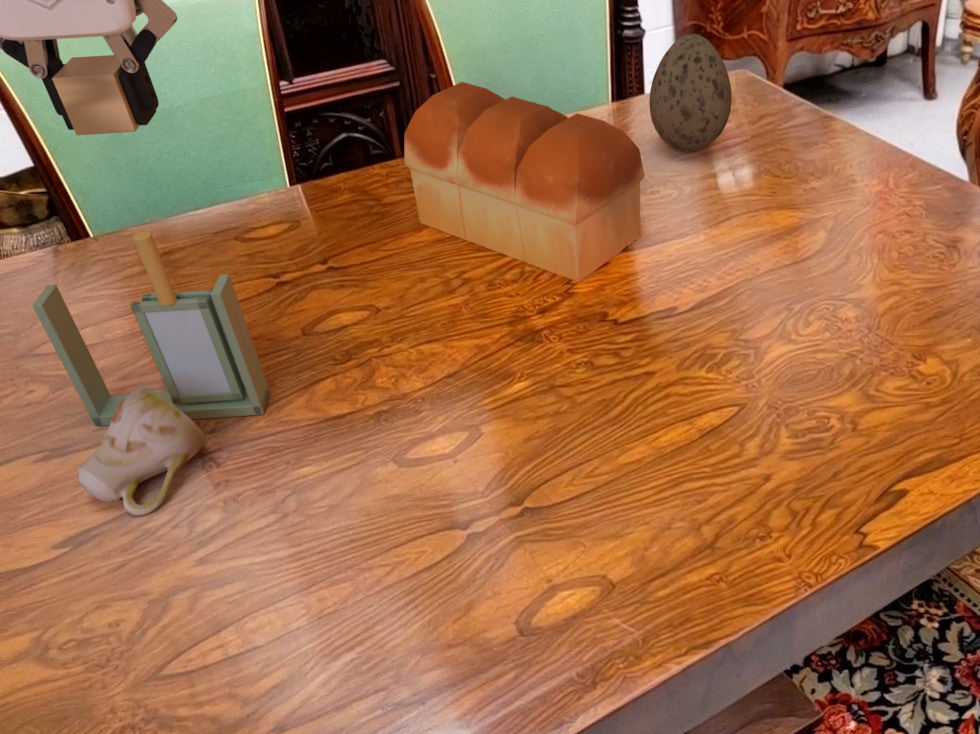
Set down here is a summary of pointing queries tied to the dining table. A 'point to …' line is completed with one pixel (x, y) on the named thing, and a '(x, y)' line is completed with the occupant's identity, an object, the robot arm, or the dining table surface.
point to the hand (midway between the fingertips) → (112, 118)
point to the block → (94, 95)
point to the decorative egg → (690, 94)
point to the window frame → (105, 405)
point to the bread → (524, 179)
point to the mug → (141, 450)
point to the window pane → (183, 337)
